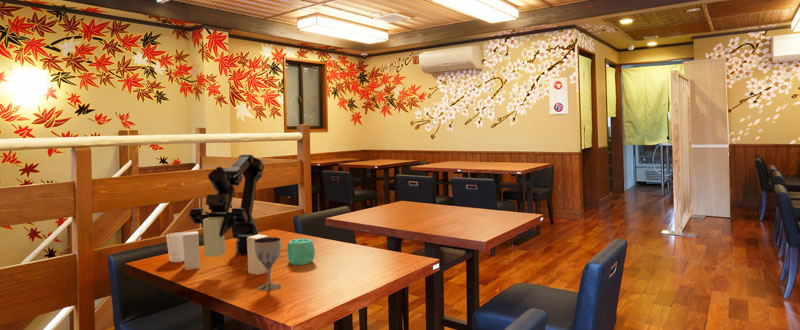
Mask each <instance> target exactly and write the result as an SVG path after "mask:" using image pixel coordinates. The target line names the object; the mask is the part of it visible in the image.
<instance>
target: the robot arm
mask: <svg viewBox="0 0 800 330" xmlns="http://www.w3.org/2000/svg"><path fill="white" fill-rule="evenodd" d="M264 171H265V164H264V163H263V162H262V160H261V159H259V158H257V157H255V156H254V155H252V154H241V155H239V156H238V158H237V160H236V161H235V162H234V163H233V164H232V165H231V166H230V167H228V168H223V166H216V168H215V169H213V170H211V172H209V174H208V175H207V178H208V179H209V182H210V185H212V188H213V189H214V191H216V194H207V195H206V198H205V205H207V206H208V210H209V211H206V210H204V208H202V207H201V208H196V207H195V208H191V209H190V210H189V213H188V215H189V217H190V219H191V220H192V222H193V223H194V224H196V225H197V224H202V226H203V220H204V219H206V218H208V217H224V222H223V225H222V228H221V230H220V235H219V236H220V237H222V236H223V235H224V236H225V235H226V233H227V232H228V231H229V230H230V229H231V233H232V237H233V239H236V241H235V253H237V254H239V255H243V256H244V255H248V252H247V237H250V236H254V235H258V234H259V229H258V228H257V224H256V220H255V219H254V216H253V209H254V202H255V196H256V195H255V194H256V189H257V183H258V182H259V180H260V179H261V178H262V176H263V172H264ZM242 175H243V176H242ZM243 178H244V184H243V188H242V189H243V191H242V196H241V203H240V207H233V205H232V202H233V198H234V197H236V192H235V191H236V189H235V186H237V187H239V185H240V184H241V183H242V181H243ZM232 207H233V208H232ZM230 209H231V211H230ZM202 233H203V234H202V235H204V232H202Z"/></svg>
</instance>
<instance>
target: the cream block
mask: <svg viewBox="0 0 800 330" xmlns="http://www.w3.org/2000/svg"><path fill="white" fill-rule="evenodd" d="M264 237H269V235H267V234H266V235H264V234H259V233H258V235H254V236H250V237H247V252H248V254H247V272H248V274H251V275H257V276H259V275H263V274H267V270H266V268H265V266H264V265H263V264H262V263H261V262H260V261H259V260H258V259H257V256H256V253H255V247H254V240H256V239H259V238H264Z"/></svg>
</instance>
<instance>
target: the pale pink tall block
mask: <svg viewBox="0 0 800 330" xmlns="http://www.w3.org/2000/svg"><path fill="white" fill-rule="evenodd" d="M182 232H183V243H184V261H183V262H184V270H185V271H189V270H196V269H197V270H198V269H201V262H200V261H201V260H200V242H199V240H200V239H199V238H200V237H199V230H196V231H187V232H186V231H182Z"/></svg>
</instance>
